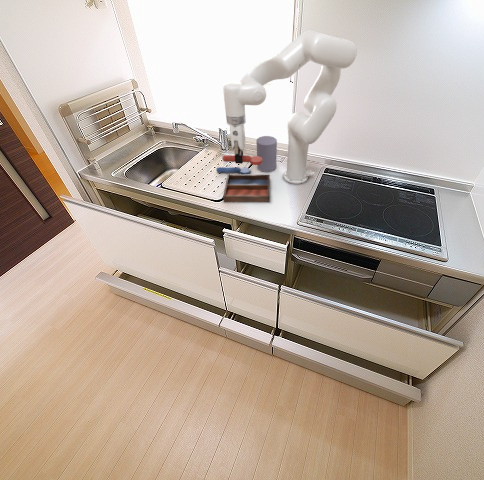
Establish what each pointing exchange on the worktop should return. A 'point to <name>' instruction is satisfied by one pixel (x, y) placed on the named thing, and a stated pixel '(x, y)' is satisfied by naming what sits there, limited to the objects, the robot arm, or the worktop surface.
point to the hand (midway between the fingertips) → (239, 160)
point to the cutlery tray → (247, 188)
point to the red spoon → (253, 160)
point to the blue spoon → (233, 170)
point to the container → (267, 153)
